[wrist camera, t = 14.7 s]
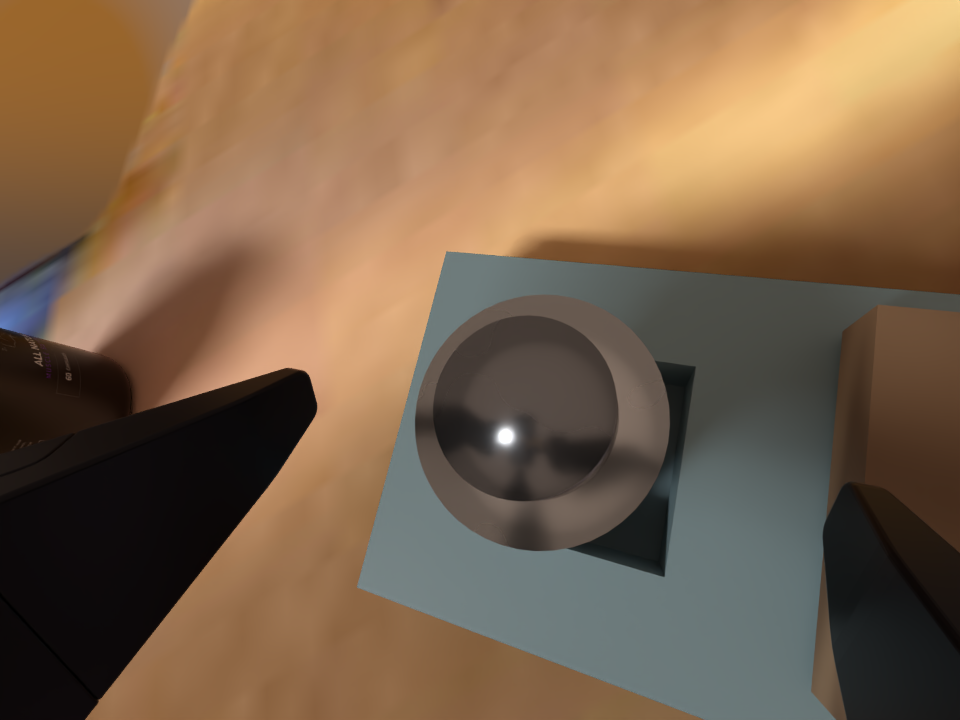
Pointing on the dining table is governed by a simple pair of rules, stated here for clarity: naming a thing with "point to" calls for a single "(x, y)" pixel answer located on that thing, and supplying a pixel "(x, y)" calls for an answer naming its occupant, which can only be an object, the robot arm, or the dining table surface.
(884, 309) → the lock bar
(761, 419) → the socket
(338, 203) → the dining table surface
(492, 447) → the grey cylindrical piece
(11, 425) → the supplement bottle
